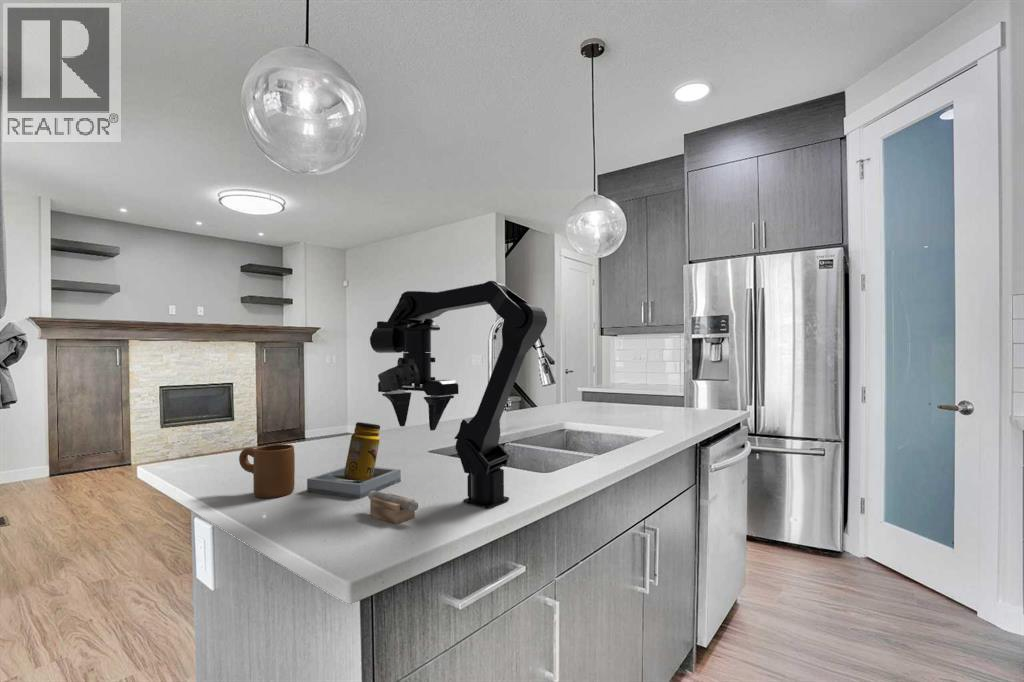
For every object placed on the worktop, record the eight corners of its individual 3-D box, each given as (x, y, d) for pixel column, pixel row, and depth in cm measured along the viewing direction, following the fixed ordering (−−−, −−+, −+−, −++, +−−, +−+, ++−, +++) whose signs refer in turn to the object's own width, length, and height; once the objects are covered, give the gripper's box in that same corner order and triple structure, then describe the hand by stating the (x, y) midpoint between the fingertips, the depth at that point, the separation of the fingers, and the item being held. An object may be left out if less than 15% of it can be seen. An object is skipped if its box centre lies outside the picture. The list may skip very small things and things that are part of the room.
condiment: (380, 482, 105) (390, 426, 107) (345, 481, 99) (356, 422, 101) (361, 477, 110) (371, 423, 112) (326, 476, 103) (338, 419, 106)
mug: (225, 496, 98) (225, 449, 98) (253, 486, 106) (253, 442, 106) (277, 500, 96) (277, 451, 96) (302, 489, 103) (302, 444, 103)
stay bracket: (425, 520, 83) (425, 499, 83) (407, 527, 80) (407, 505, 80) (378, 506, 91) (378, 487, 91) (360, 512, 88) (360, 492, 88)
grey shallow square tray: (400, 481, 109) (400, 469, 109) (360, 498, 96) (360, 485, 96) (351, 475, 114) (351, 464, 114) (307, 491, 101) (307, 478, 101)
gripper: (356, 353, 100) (356, 429, 100) (418, 352, 89) (418, 438, 89) (399, 352, 109) (399, 422, 109) (460, 352, 98) (460, 430, 98)
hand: (417, 428), depth 101 cm, fingers open, 9 cm apart
